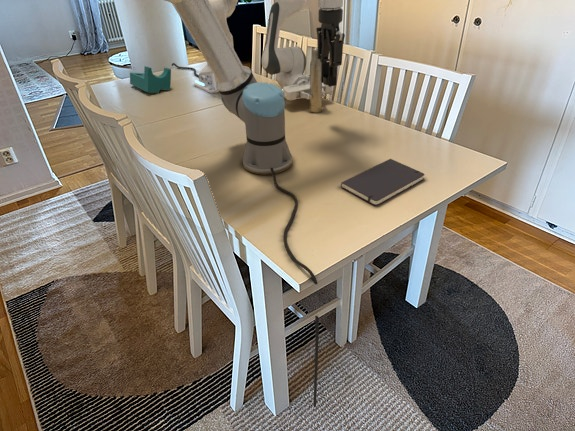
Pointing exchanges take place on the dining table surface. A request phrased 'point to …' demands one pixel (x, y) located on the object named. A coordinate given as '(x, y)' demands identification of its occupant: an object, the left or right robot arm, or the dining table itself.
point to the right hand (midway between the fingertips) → (328, 83)
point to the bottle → (315, 83)
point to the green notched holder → (151, 80)
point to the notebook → (382, 181)
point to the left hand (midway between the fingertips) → (317, 95)
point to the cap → (325, 79)
